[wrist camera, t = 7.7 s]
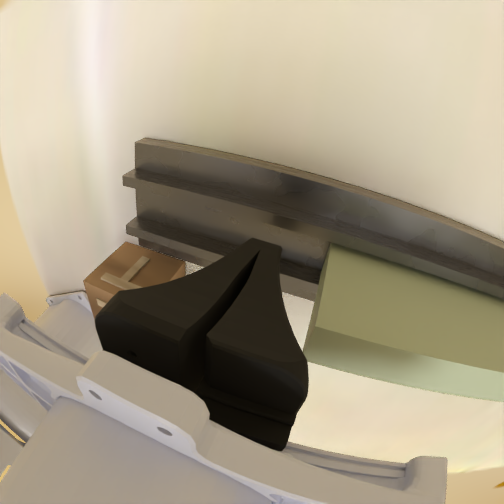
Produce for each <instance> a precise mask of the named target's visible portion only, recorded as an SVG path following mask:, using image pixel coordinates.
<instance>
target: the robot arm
mask: <svg viewBox="0 0 504 504" xmlns="http://www.w3.org/2000/svg"><path fill="white" fill-rule="evenodd" d="M281 253H282V247H281V246H279V245H276V244H273V243H269V242H266V241H262V240H259V239H256V238H251V239H249V240H248V241H246V242H245V243H243V244H242V245H241V246H239V247H238V248H236V249H235V250H233V251H232V252H230V253H229V254H227V255H226V256H224V257H222V258H221V259H219V260H217V261H216V262H214V263H212V264H210V265H208V266H207V267H205V268H203V269H201V270H198V271H196V272H194V273H192V274H189V275H187V276H184V277H181V278H178V279H175V280H172V281H169V282H165V283H162V284H158V285H153V286H149V287H143V288H137V289H129V290H121V291H118V292H117V293H116V294H115V295H114V296H113V297H112V298H111V299H110V300H109V301H108V303H107V304H106V305H105V306H104V307H103V308H102V309H101V310H100V312H99V313H98V314H97V315H96V316H95V320H94V317H93V313H92V310H91V307H90V303H89V300H88V297H87V294H86V293H85V292H83V291H80V292H74V293H68V294H62V295H55V296H49V297H47V298H46V301H47V303H48V304H49V307H48V308H47V309H46V310H45V311H44V312H43V313H42V314H41V315H40V316H39V317H38V318H37V319H36V320H35V322H32V321H30V320H29V319H28V318H26V317H25V314H24V311H23V309H22V307H21V306H20V305H19V303H17V301H15V300H14V299H13V298H11V297H10V296H9V295H7V294H6V293H3V294H2V295H1V296H0V419H1V420H2V421H3V422H4V423H5V424H6V425H7V426H8V427H9V428H10V429H11V430H12V431H13V432H15V433H16V434H17V435H18V436H19V437H20V438H21V439H23V440H24V441H25V442H26V443H23V442H21V441H19V440H17V439H16V438H15V437H14V436H13V435H12V434H10V433H9V432H8V431H7V430H6V429H5V428H4V427H3V426H2V425H1V424H0V476H1V474H2V473H3V471H4V470H5V468H6V467H7V465H11V467H10V468H9V470H8V471H7V473H6V474H5V476H4V477H3V479H2V481H1V482H0V504H445V499H446V485H447V458H446V457H432V456H419V457H415V458H413V459H411V460H410V461H409V462H408V463H397V462H389V461H381V460H374V459H367V458H361V457H355V456H350V455H344V454H339V453H334V452H329V451H325V450H320V449H316V448H311V447H307V446H303V445H299V444H295V443H292V442H288V438H289V435H290V431H291V428H292V426H293V424H294V422H295V418H296V415H297V412H298V411H299V409H300V408H301V406H302V405H303V403H304V401H305V400H306V397H307V394H308V383H309V378H308V365H307V359H306V357H305V355H304V354H303V352H302V350H301V348H300V346H299V344H298V342H297V340H296V338H295V336H294V333H293V331H292V328H291V325H290V323H289V320H288V317H287V314H286V310H285V307H284V302H283V298H282V292H281V285H280V271H279V264H280V257H281Z"/></svg>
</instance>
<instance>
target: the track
mask: <svg viewBox="0 0 504 504" xmlns="http://www.w3.org/2000/svg"><path fill="white" fill-rule="evenodd" d="M123 186H127V187H131V188H135V189H136V207H137V217H135V218H134V219H133V220H132V221H130V222H129V223H128V224H127V225H126V233H127V234H129V235H132V236H135V237H138V238H139V245H140V246H143V247H146V248H149V249H152V250H155V251H158V252H161V253H164V254H167V255H170V256H173V257H176V258H179V259H182V260H185V261H188V262H191V263H194V264H197V265H200V266H203V267H207V266H208V265H210V264H212V263H214V262H216V261H217V260H219V259H221V258H222V257H224V256H226V255H227V254H229V253H230V252H232V251H233V250H235V249H236V248H238V247H239V246H241V245H242V244H243V243H245V242H246V241H248V240H249V239H251V238H256V239H259V240H262V241H266V242H269V243H273V244H276V245H279V246H281V247H282V253H281V257H280V264H279V271H280V285H281V291H282V292H285V293H288V294H291V295H295V296H298V297H301V298H305V299H308V300H311V301H315V298H316V294H317V289H318V285H319V280H320V275H321V271H322V268H323V265H324V262H325V259H326V256H327V253H328V250H329V247H330V244H331V242H332V243H335V244H338V245H342V246H345V247H348V248H351V249H355V250H358V251H361V252H364V253H368V254H371V255H374V256H377V257H380V258H383V259H387V260H390V261H393V262H396V263H399V264H402V265H405V266H408V267H412V268H415V269H418V270H421V271H424V272H427V273H430V274H433V275H436V276H439V277H442V278H445V279H448V280H451V281H454V282H457V283H460V284H463V285H465V286H468V287H471V288H474V289H477V290H480V291H483V292H486V293H488V294H491V295H494V296H497V297H500V298H502V299H504V242H503V241H501V240H499V239H496V238H494V237H492V236H489V235H487V234H485V233H483V232H480V231H478V230H476V229H473V228H471V227H468V226H466V225H463V224H461V223H459V222H456V221H454V220H451V219H448V218H446V217H443V216H441V215H438V214H436V213H433V212H430V211H428V210H425V209H422V208H419V207H417V206H414V205H411V204H408V203H405V202H403V201H400V200H397V199H394V198H391V197H388V196H385V195H382V194H379V193H376V192H373V191H370V190H367V189H363V188H360V187H357V186H354V185H350V184H347V183H344V182H340V181H337V180H334V179H330V178H327V177H323V176H320V175H316V174H313V173H309V172H305V171H301V170H298V169H294V168H290V167H286V166H282V165H278V164H274V163H270V162H266V161H262V160H258V159H253V158H249V157H244V156H240V155H235V154H231V153H226V152H221V151H216V150H211V149H206V148H201V147H196V146H191V145H185V144H180V143H174V142H168V141H162V140H156V139H149V138H144V139H141V140H139V141H137V142H135V169H133V170H131V171H130V172H128V173H126V174H124V175H123Z"/></svg>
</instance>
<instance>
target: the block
mask: <svg viewBox="0 0 504 504" xmlns="http://www.w3.org/2000/svg"><path fill="white" fill-rule="evenodd" d="M184 276H185V261H182V260H179V259H176V258H173V257H170V256H167V255H164V254H161V253H158V252H155V251H152V250H149V249H146V248H143V247H140V246H137V245H134V244H131V243H129V242H125V243H124V244H123V245H122V246H120V247H119V248H118V249H117V250H116V251H115V252H114V253H113V254H111V255H110V256H109V257H108V258H107V259H106V260H105V261H104V262H103V263H102V264H101V265H99V266H98V267H97V268H96V269H95V270H94V271H93V272H92V273H91V274H90V275H89V276H88V277H87V278H86V279H85V280H83V282H84V286H85V289H86V293H87V297H88V300H89V303H90V307H91V310H92V313H93V317H94V320H95V316H96V315H97V314H98V313H99V312H100V310H101V309H102V308H103V307H104V306H105V305H106V304H107V303H108V301H109V300H110V299H111V298H112V297H113V296H114V295H115V294H116V293H117V292H118V291H121V290H129V289H137V288H143V287H149V286H153V285H158V284H162V283H165V282H169V281H172V280H175V279H178V278H181V277H184Z"/></svg>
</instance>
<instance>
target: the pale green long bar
mask: <svg viewBox="0 0 504 504" xmlns="http://www.w3.org/2000/svg"><path fill="white" fill-rule="evenodd" d="M303 354H304V355H305V357H306V359H307V361H308V362H311V363H315V364H318V365H322V366H326V367H329V368H333V369H337V370H340V371H344V372H348V373H352V374H356V375H360V376H364V377H368V378H372V379H376V380H381V381H385V382H390V383H394V384H399V385H403V386H408V387H413V388H418V389H423V390H428V391H433V392H439V393H444V394H450V395H456V396H462V397H469V398H475V399H482V400H490V401H498V402H504V299H502V298H500V297H497V296H494V295H491V294H488V293H486V292H483V291H480V290H477V289H474V288H471V287H468V286H465V285H463V284H460V283H457V282H454V281H451V280H448V279H445V278H442V277H439V276H436V275H433V274H430V273H427V272H424V271H421V270H418V269H415V268H412V267H408V266H405V265H402V264H399V263H396V262H393V261H390V260H387V259H383V258H380V257H377V256H374V255H371V254H368V253H364V252H361V251H358V250H355V249H351V248H348V247H345V246H342V245H338V244H335V243H332V242H331V244H330V247H329V250H328V253H327V256H326V259H325V262H324V265H323V268H322V271H321V275H320V280H319V285H318V289H317V294H316V298H315V303H314V307H313V311H312V315H311V320H310V324H309V328H308V332H307V336H306V340H305V344H304V348H303Z"/></svg>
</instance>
